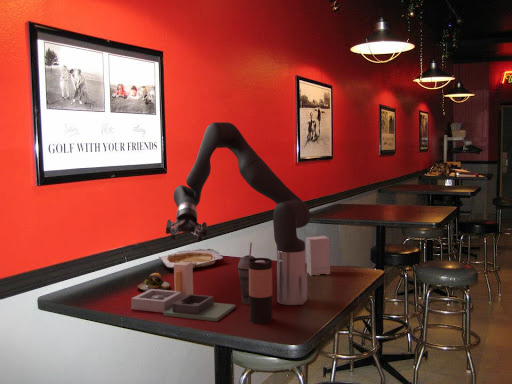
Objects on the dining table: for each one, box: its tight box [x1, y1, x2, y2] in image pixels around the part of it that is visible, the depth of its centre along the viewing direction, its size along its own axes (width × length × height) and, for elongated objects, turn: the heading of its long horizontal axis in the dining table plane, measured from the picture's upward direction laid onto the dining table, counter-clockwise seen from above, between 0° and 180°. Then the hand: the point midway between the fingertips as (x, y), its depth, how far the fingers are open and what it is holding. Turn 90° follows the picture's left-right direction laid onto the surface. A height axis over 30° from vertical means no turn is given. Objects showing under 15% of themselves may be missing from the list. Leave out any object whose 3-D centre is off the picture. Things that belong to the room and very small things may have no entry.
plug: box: [173, 261, 194, 298], centre depth 181 cm, size 4×6×12 cm
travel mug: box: [248, 257, 273, 325], centre depth 157 cm, size 7×7×18 cm
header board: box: [162, 293, 236, 322], centre depth 167 cm, size 18×14×4 cm
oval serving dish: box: [158, 248, 223, 270], centre depth 234 cm, size 32×4×23 cm
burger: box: [136, 268, 172, 292], centre depth 194 cm, size 12×12×8 cm
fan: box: [130, 289, 183, 314], centre depth 176 cm, size 16×18×4 cm
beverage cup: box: [237, 242, 256, 305], centre depth 175 cm, size 7×7×20 cm
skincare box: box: [305, 235, 331, 277], centre depth 213 cm, size 8×6×15 cm
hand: (186, 238), depth 182 cm, fingers open, 8 cm apart
